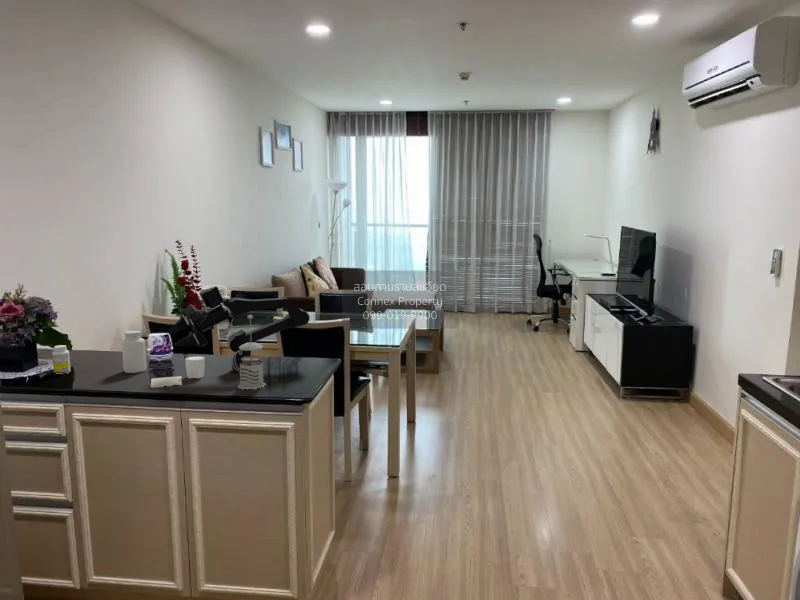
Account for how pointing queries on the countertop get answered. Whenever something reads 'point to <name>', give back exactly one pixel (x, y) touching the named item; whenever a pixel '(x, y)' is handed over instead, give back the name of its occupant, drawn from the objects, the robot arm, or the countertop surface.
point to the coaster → (166, 381)
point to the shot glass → (195, 366)
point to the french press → (247, 380)
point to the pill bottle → (133, 352)
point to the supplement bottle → (61, 359)
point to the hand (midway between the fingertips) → (171, 338)
